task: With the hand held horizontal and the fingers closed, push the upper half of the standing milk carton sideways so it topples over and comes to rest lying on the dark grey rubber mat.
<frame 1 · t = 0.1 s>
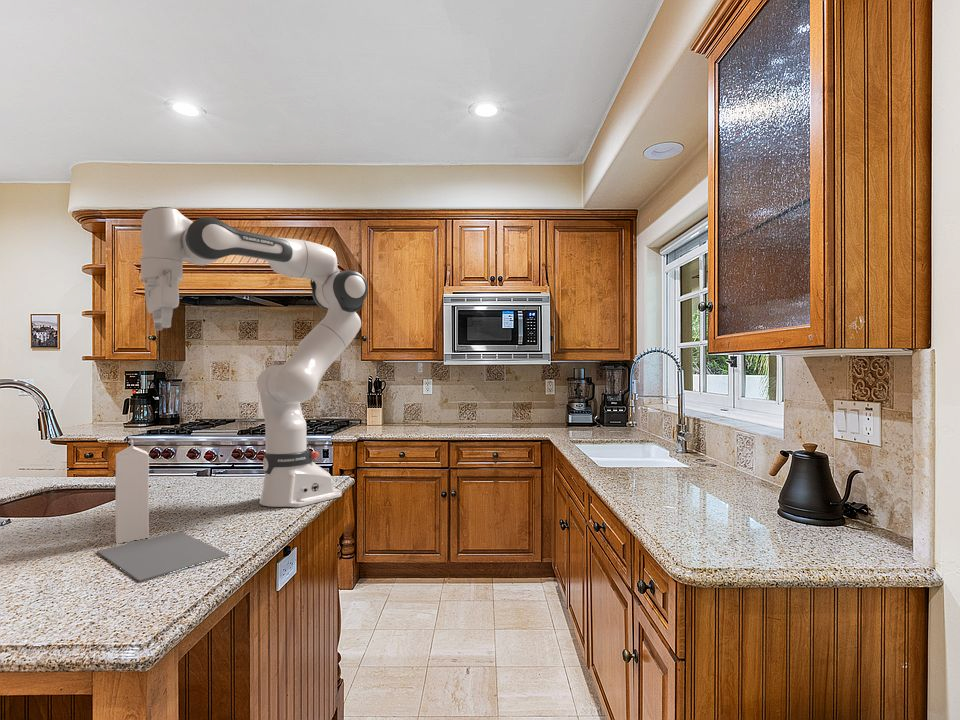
hand: (162, 329, 128), 48 cm above the countertop, tool pointing down, fingers open, 8 cm apart
mat: (162, 554, 106), on the countertop
milk: (131, 538, 116), on the countertop
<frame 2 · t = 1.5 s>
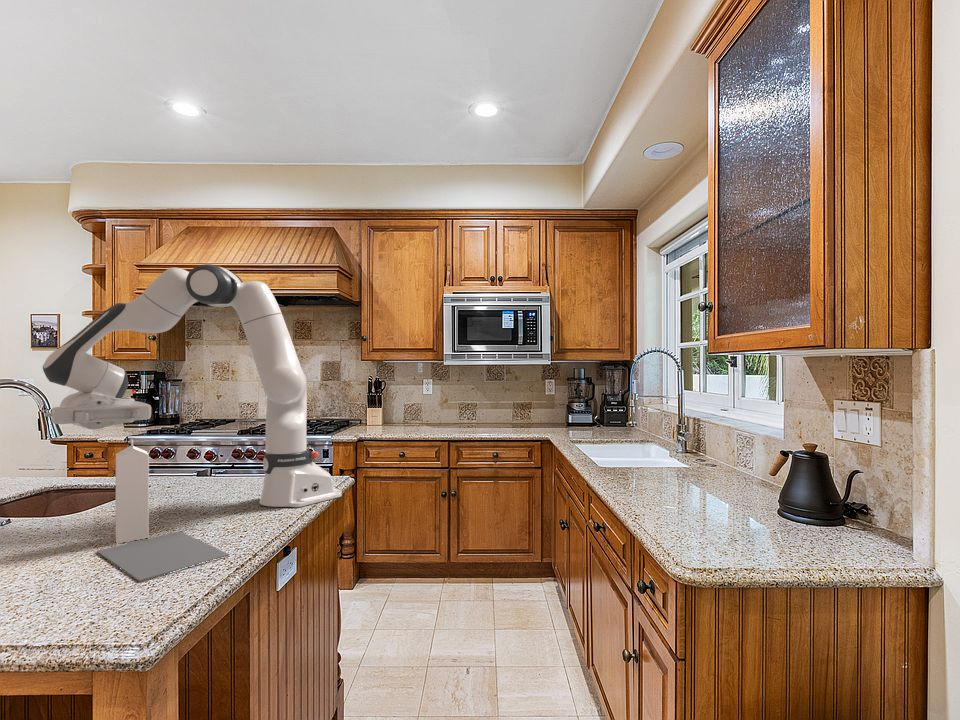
hand: (113, 415, 124), 27 cm above the countertop, tool horizontal, fingers open, 8 cm apart
nothing on the countertop moved.
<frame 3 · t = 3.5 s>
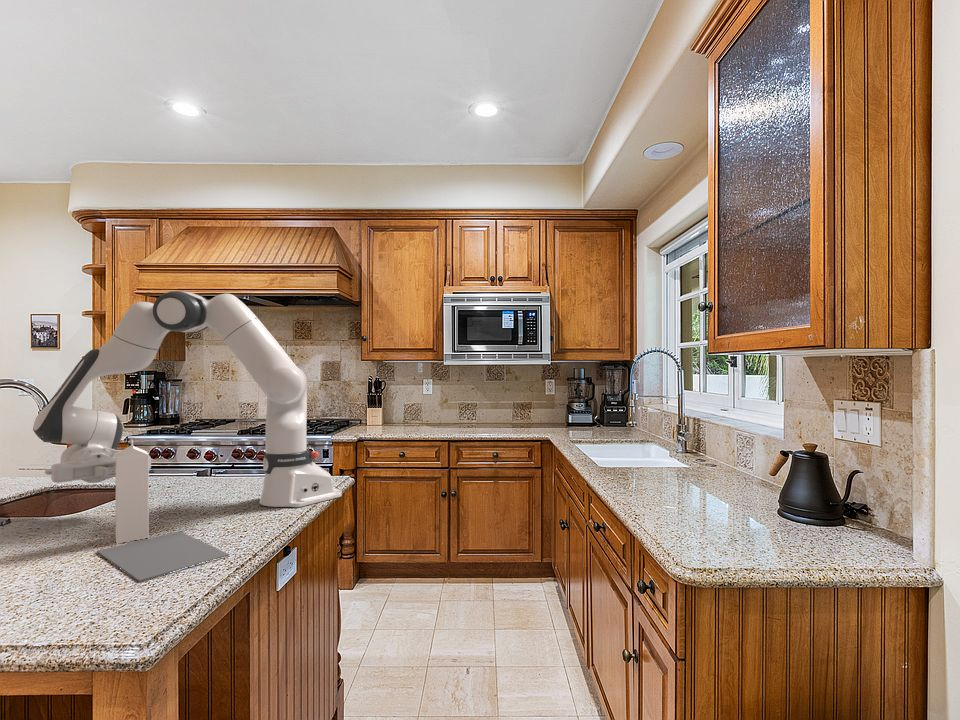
hand: (112, 471, 124), 13 cm above the countertop, tool horizontal, fingers closed
nothing on the countertop moved.
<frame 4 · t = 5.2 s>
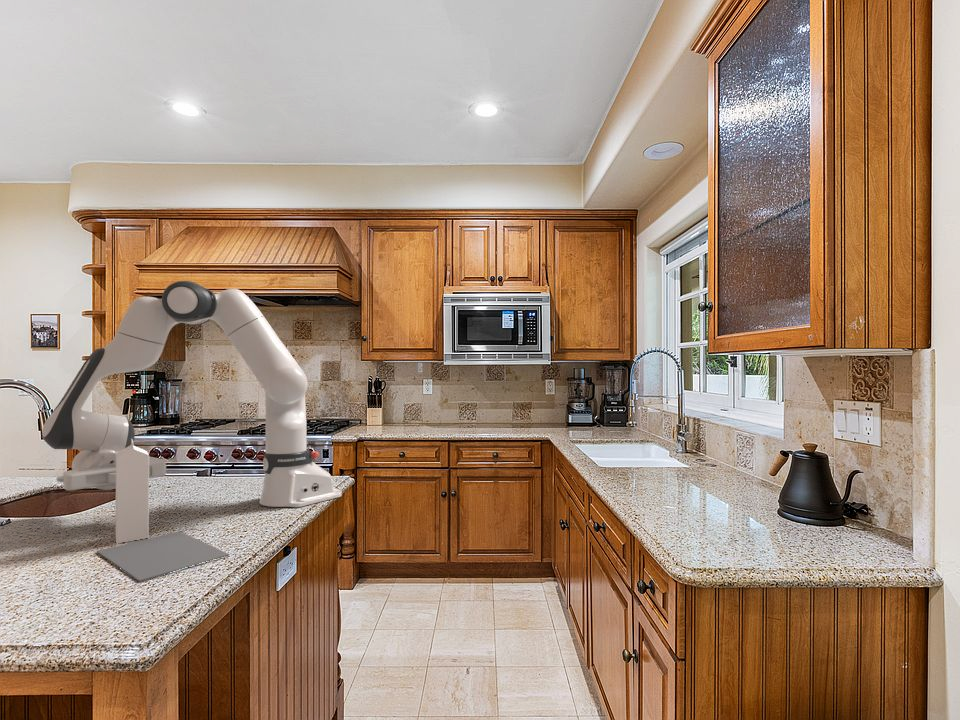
hand: (127, 478, 118), 13 cm above the countertop, tool horizontal, fingers closed
milk: (131, 538, 116), on the countertop, touching gripper
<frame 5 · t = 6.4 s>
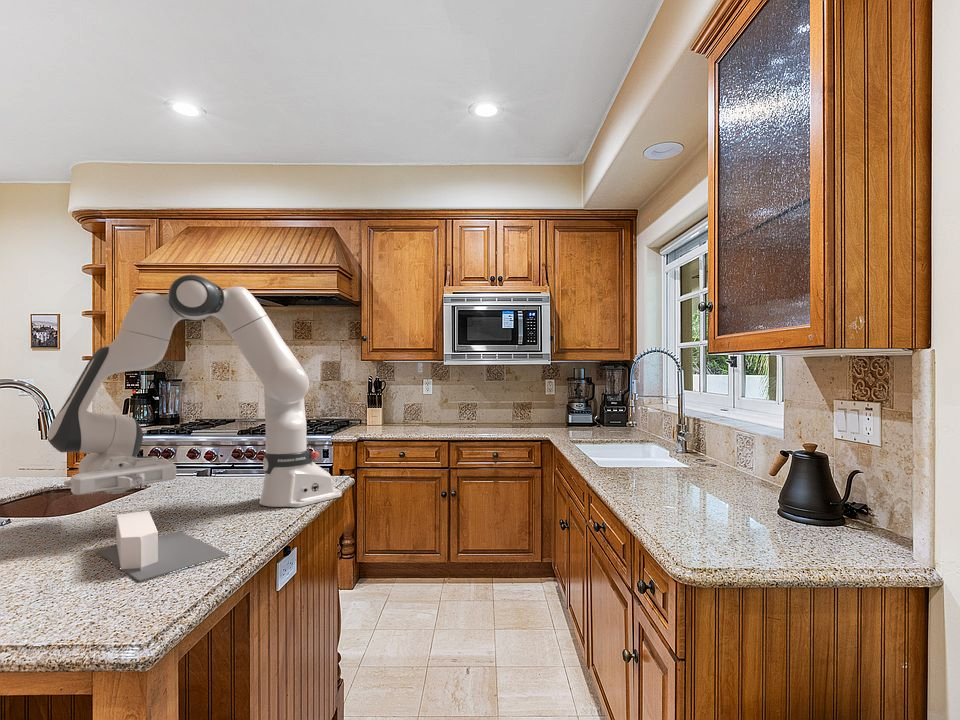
hand: (137, 482, 114), 13 cm above the countertop, tool horizontal, fingers closed
milk: (132, 525, 114), point 3 cm above the countertop, touching mat
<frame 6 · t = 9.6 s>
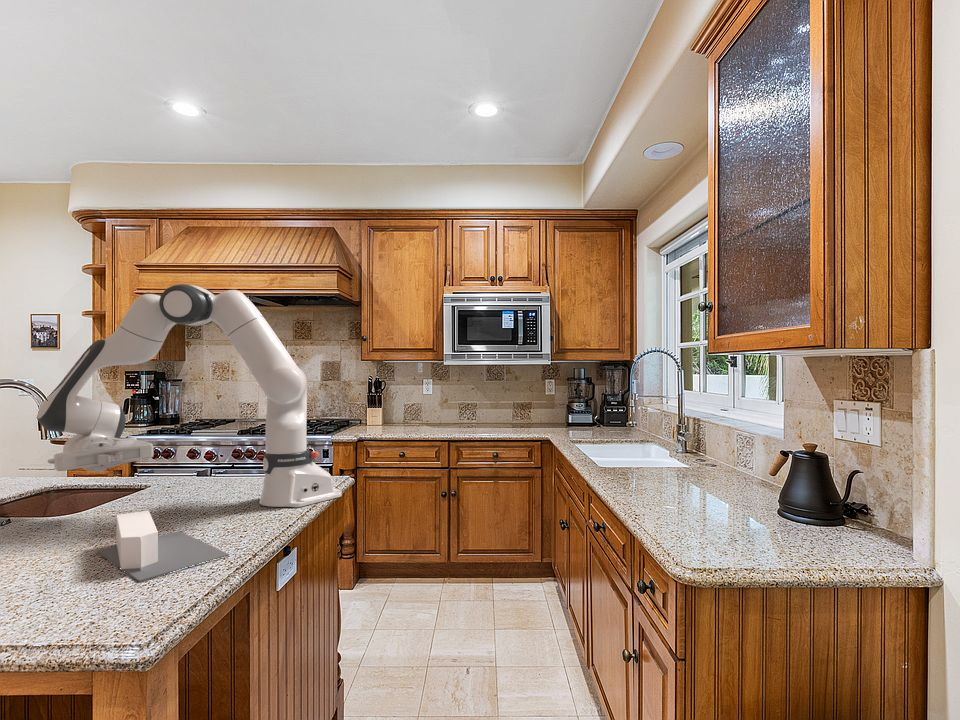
hand: (115, 458, 124), 16 cm above the countertop, tool horizontal, fingers closed
nothing on the countertop moved.
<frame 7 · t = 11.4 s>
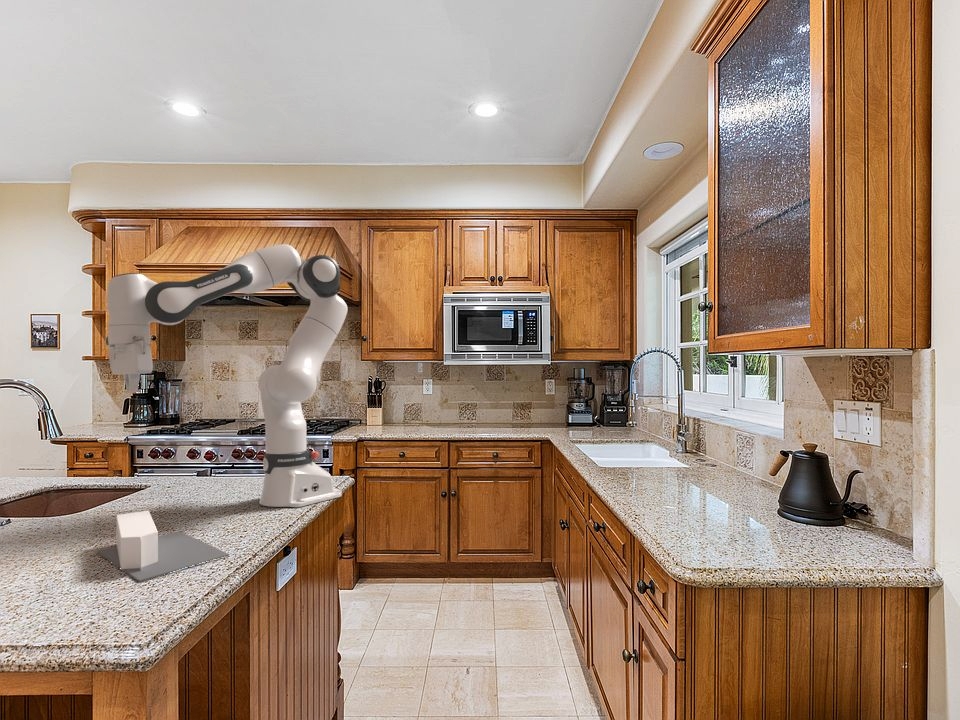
hand: (132, 392, 130), 32 cm above the countertop, tool pointing down, fingers closed
nothing on the countertop moved.
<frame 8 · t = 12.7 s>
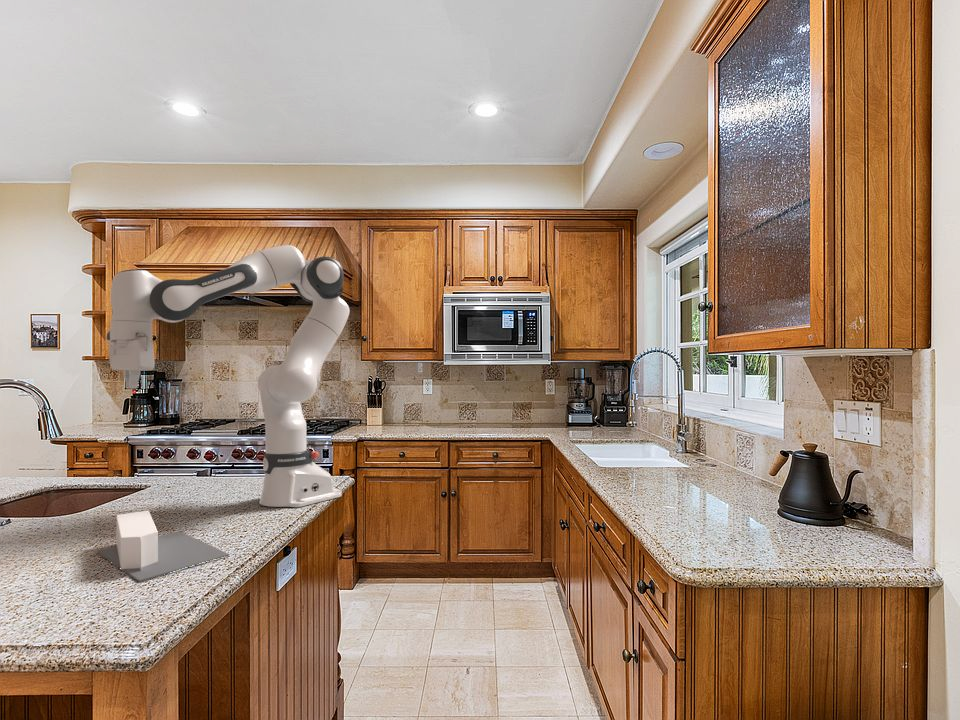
hand: (131, 388, 130), 33 cm above the countertop, tool pointing down, fingers closed
nothing on the countertop moved.
at the end: milk tilted 90°; milk inside the target area (10.4 cm from its centre), point 3.4 cm above the countertop; milk moved 4.4 cm from its start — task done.
